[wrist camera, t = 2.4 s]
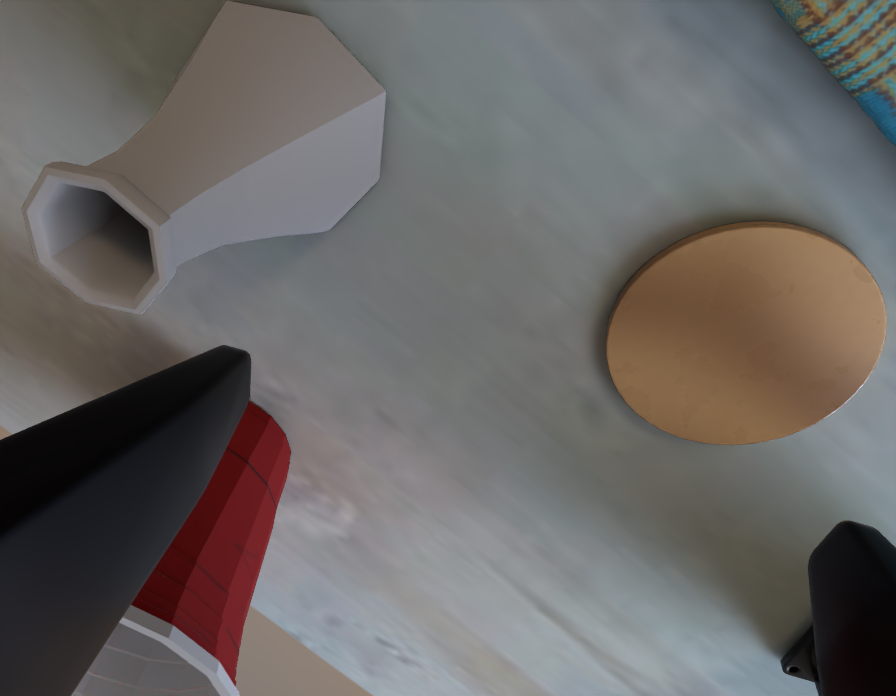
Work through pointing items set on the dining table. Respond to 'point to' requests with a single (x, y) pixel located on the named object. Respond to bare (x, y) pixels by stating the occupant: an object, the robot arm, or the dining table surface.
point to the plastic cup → (201, 580)
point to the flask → (216, 161)
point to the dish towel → (853, 49)
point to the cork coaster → (745, 333)
